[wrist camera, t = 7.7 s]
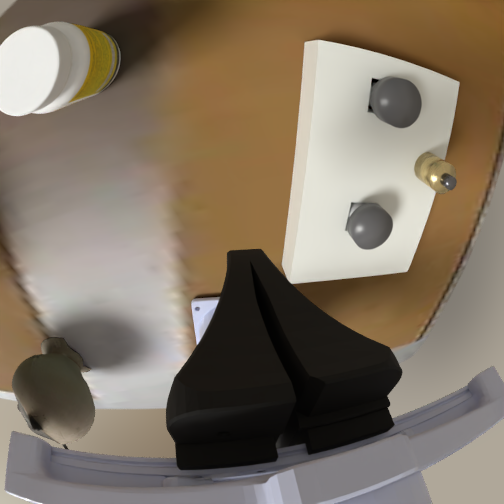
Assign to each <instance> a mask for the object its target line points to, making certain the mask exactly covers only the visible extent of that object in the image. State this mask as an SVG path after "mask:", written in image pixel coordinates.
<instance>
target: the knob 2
mask: <svg viewBox="0 0 504 504" xmlns="http://www.w3.org/2000/svg"><path fill="white" fill-rule="evenodd" d="M368 106H371V107H372V109H373V112H374V114H375V115H376V116H377V117H378V118H379V119H380V120H381V121H383V122H385V123H387V124H389V125H392V126H394V127H396V128H406V127H409V126H411V125H412V124H413V123H414V122H415V121H416V120H417V119H418V117H419V115H420V112H421V107H422V101H421V96H420V93H419V90H418V89H417V87H416V86H415V85H414V84H413V83H412V82H410V81H409V80H406V79H402V78H397V77H392V76H388V77H384V78H382V79H380V80H379V81H378V82H377V83H373V82H371V90H370V97H369V105H368Z"/></svg>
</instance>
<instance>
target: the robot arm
mask: <svg viewBox="0 0 504 504" xmlns="http://www.w3.org/2000/svg"><path fill="white" fill-rule="evenodd" d="M191 304H192V313H193V320H194V327H195V334H196V341H197V346H196V348H195V350H194V351H193V353H192V354H191V356H190V357H189V359H188V360H187V362H186V363H185V364H184V366H183V367H182V368H181V370H180V371H179V372H178V374H177V375H176V376H175V378H174V381H173V384H172V387H171V390H170V393H169V397H168V401H167V408H166V424H167V430H168V432H169V433H170V435H171V437H172V438H173V440H174V442H175V447H176V458H144V457H126V456H114V455H104V454H94V453H87V452H80V451H74V450H68V449H62V448H57V447H52V446H51V445H50V444H49V443H47V442H46V441H44V440H43V439H40V438H38V437H35V436H31V435H27V434H23V433H19V432H15V431H12V433H11V438H10V444H9V451H8V459H7V468H6V479H5V491H6V493H8V494H11V495H13V496H15V497H18V498H21V499H23V500H26V501H29V502H32V503H35V504H432V501H431V498H430V495H429V493H428V490H427V487H426V484H425V481H424V479H423V476H422V474H421V471H422V470H424V469H426V468H428V467H430V466H432V465H434V464H436V463H437V462H439V461H441V460H443V459H444V458H446V457H448V456H450V455H451V454H453V453H454V452H456V451H458V450H459V449H461V448H463V447H464V446H466V445H467V444H469V443H470V442H472V441H473V440H475V439H476V438H478V437H479V436H481V435H482V434H484V433H485V432H486V431H488V430H489V429H490V428H492V427H493V426H494V425H496V424H497V423H498V422H499V421H501V420H502V419H503V418H504V383H503V381H502V379H501V378H500V376H499V374H498V372H497V371H496V369H495V367H494V366H492V367H490V368H488V369H486V370H484V371H482V372H481V373H479V374H478V375H477V376H475V377H474V378H473V379H472V380H471V381H470V382H469V383H468V385H467V386H465V387H463V388H461V389H459V390H458V391H455V392H453V393H451V394H449V395H447V396H445V397H443V398H441V399H439V400H437V401H434V402H432V403H430V404H427V405H425V406H423V407H421V408H418V409H415V410H413V411H410V412H408V413H405V414H403V415H400V416H398V417H395V418H392V417H391V415H390V413H389V410H388V408H387V407H389V406H390V402H389V399H388V397H387V395H388V394H389V393H390V392H391V390H392V389H393V388H394V387H395V385H396V384H397V383H398V381H399V380H400V378H401V376H402V369H401V367H400V366H399V363H398V361H397V359H396V357H395V355H394V354H393V352H392V351H391V349H390V348H389V347H388V346H385V345H383V344H381V343H378V342H376V341H374V340H371V339H369V338H367V337H365V336H363V335H361V334H359V333H357V332H355V331H353V330H351V329H350V328H348V327H346V326H345V325H343V324H341V323H340V322H338V321H337V320H335V319H334V318H332V317H330V316H329V315H328V314H326V313H325V312H323V311H322V310H321V309H319V308H318V307H317V306H316V305H314V304H313V303H312V302H310V301H309V300H308V299H307V298H306V297H305V296H304V295H303V294H302V293H300V292H299V291H298V290H297V289H296V288H295V287H294V286H293V285H292V284H291V283H290V282H289V281H288V280H287V279H286V277H285V276H284V275H283V274H282V273H281V272H280V271H279V270H278V269H277V267H276V266H275V265H274V264H273V263H272V262H271V260H270V259H269V258H268V257H267V255H266V254H265V253H264V252H263V251H262V250H261V249H249V250H232V251H229V252H228V253H227V273H226V277H225V282H224V286H223V289H222V292H221V295H220V297H212V298H196V299H193V300H192V303H191ZM196 307H199V308H196Z"/></svg>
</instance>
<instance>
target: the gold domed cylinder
mask: <svg viewBox="0 0 504 504" xmlns="http://www.w3.org/2000/svg"><path fill="white" fill-rule="evenodd" d="M414 172H415V175H416V177H417V178H418V179H419V180H421V181H422V182H423V183H425V184H426V185H427V186H429V187H430V188H431V189H433V190H434V191H435V192H437V193H439V194H444V193H446V192H448V191H449V190H452V189H454V188H455V186H456V179H455V178H456V171H455V168H454V167H453V166H452V165H451V164H449V163H448V162H446V161H444V160H443V159H441V158H439V157H438V156H436V155H434V154H432V153H430V152H425V153H423V154H421V155H420V156H419V157H418V159H417V160H416V162H415V166H414Z"/></svg>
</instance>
